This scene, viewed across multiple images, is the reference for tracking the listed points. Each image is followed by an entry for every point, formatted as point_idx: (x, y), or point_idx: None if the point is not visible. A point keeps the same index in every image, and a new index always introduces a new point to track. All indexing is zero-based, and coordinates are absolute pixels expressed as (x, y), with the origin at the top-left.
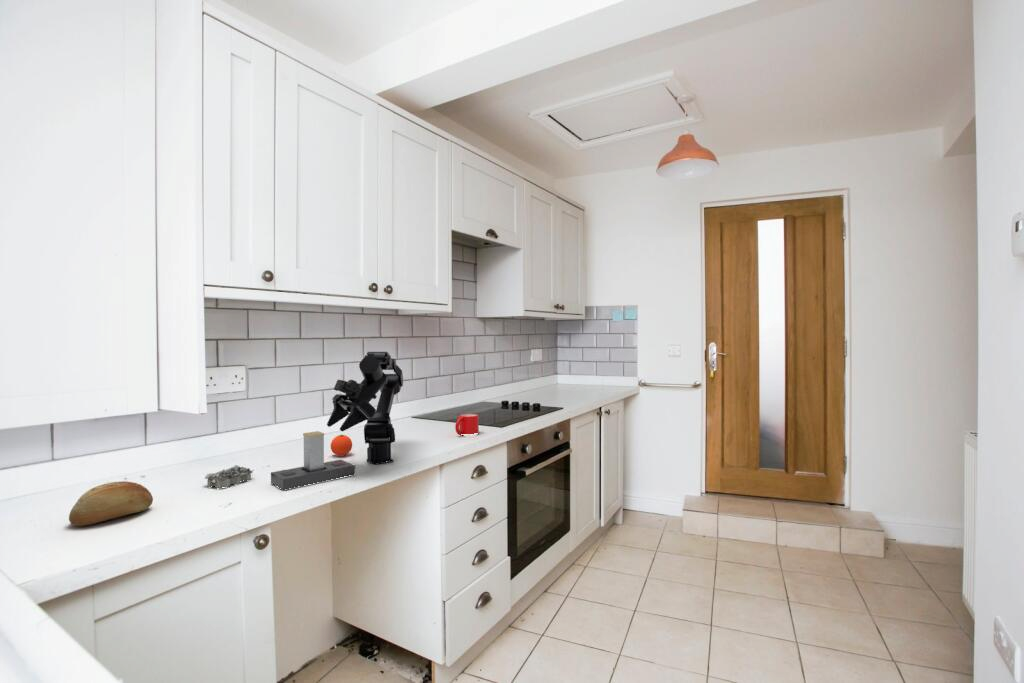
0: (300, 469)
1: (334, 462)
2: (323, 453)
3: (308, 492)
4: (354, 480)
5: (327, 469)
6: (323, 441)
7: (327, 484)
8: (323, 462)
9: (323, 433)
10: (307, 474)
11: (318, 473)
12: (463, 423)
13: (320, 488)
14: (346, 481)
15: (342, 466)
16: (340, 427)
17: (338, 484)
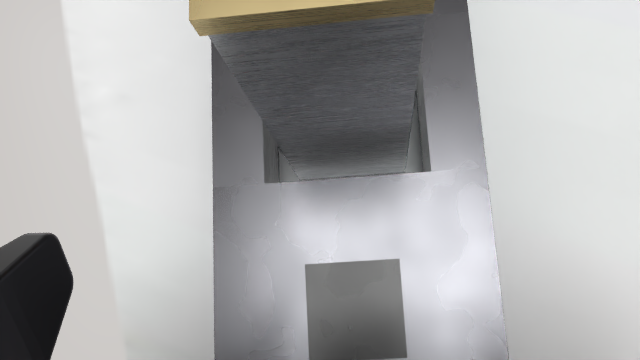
0: None
1: (434, 309)
2: (259, 114)
3: (97, 16)
4: (123, 340)
5: (245, 174)
6: (229, 64)
7: (169, 157)
8: (279, 142)
9: (191, 10)
10: None
11: (214, 95)
12: None
13: (119, 94)
14: (141, 284)
15: (248, 308)
16: (27, 244)
17: (116, 213)
